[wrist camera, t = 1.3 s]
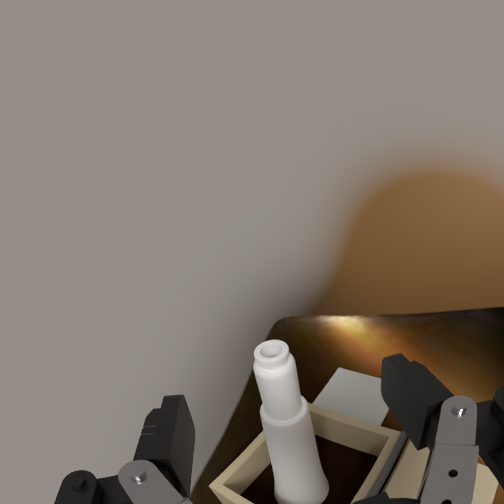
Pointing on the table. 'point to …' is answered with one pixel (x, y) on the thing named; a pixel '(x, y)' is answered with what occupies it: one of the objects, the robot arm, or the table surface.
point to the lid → (412, 469)
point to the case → (328, 427)
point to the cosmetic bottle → (288, 427)
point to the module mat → (354, 396)
